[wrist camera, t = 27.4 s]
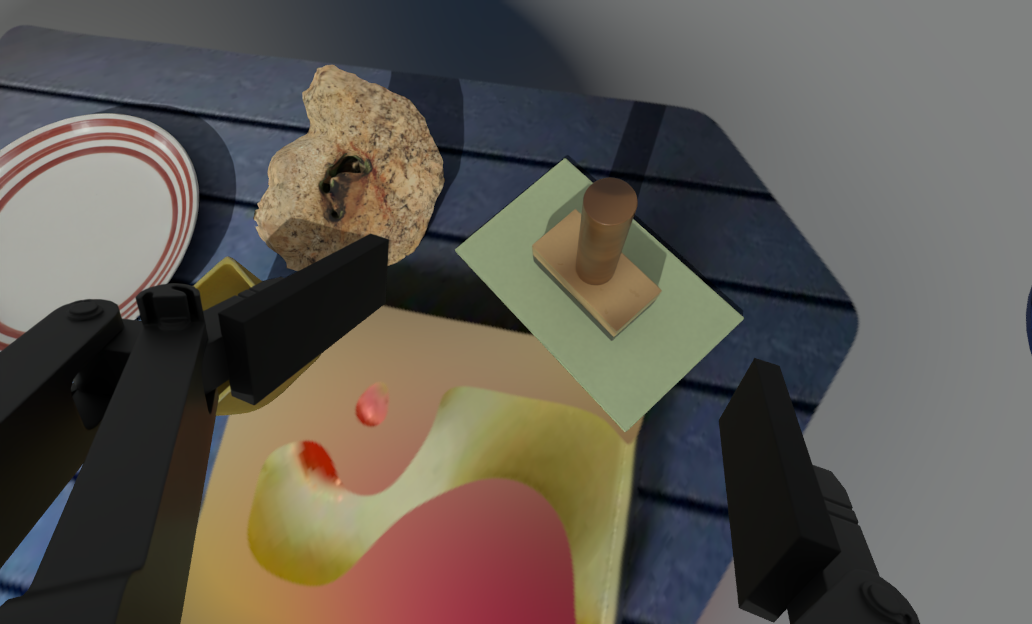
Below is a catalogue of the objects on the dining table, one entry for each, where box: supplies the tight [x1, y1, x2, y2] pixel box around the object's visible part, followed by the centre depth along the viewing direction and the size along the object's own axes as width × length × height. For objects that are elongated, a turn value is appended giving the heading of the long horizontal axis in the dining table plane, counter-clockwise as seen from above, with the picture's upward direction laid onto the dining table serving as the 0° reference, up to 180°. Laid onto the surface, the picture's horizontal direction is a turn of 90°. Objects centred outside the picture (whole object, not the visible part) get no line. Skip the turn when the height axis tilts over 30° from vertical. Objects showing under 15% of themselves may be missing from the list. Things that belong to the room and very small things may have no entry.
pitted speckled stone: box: [253, 65, 445, 271], centre depth 44 cm, size 18×14×8 cm
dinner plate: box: [0, 113, 199, 352], centre depth 45 cm, size 28×27×3 cm
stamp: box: [532, 178, 662, 341], centre depth 34 cm, size 10×5×14 cm, turn 41°
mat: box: [455, 158, 744, 432], centre depth 41 cm, size 22×14×1 cm, turn 42°
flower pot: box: [194, 257, 321, 416], centre depth 37 cm, size 9×9×9 cm
